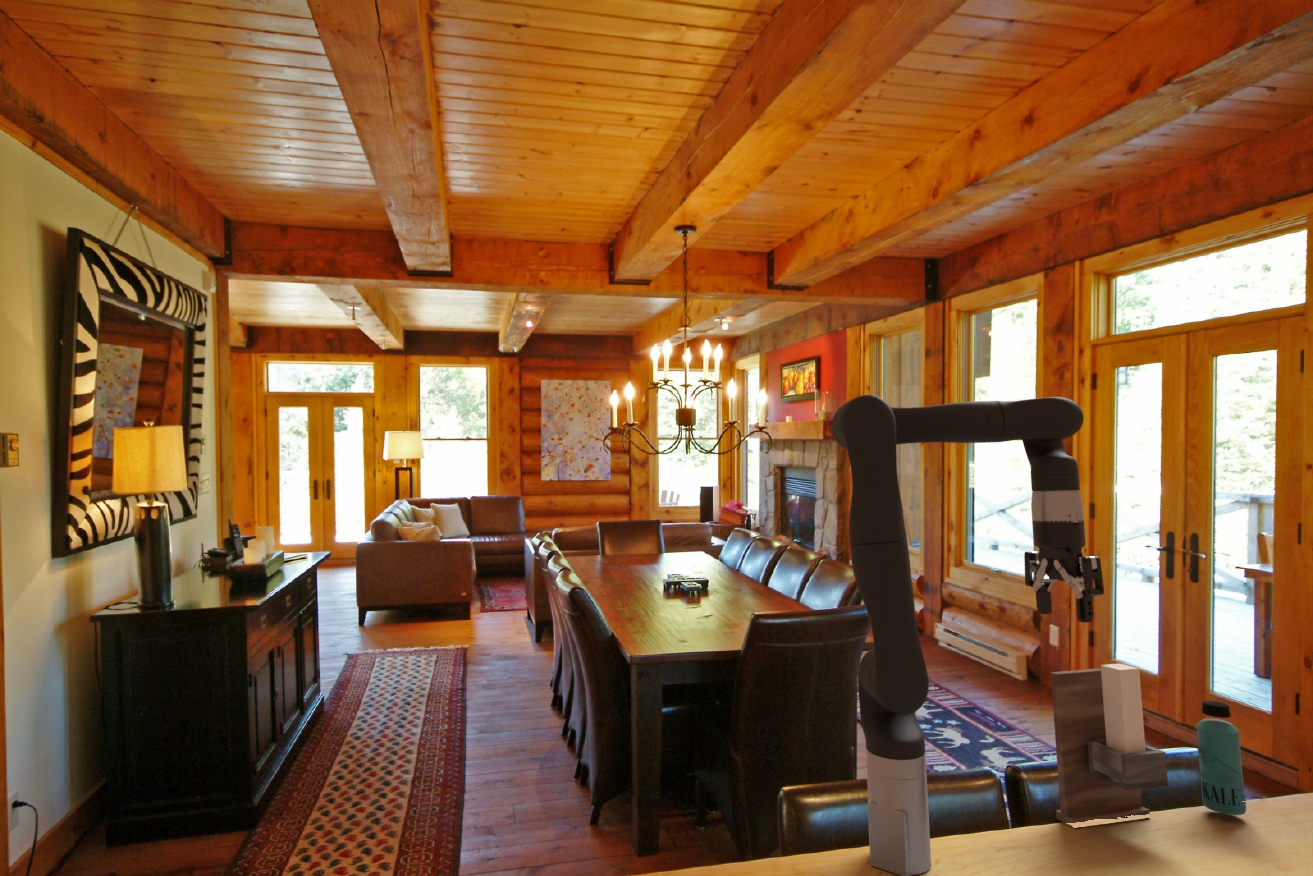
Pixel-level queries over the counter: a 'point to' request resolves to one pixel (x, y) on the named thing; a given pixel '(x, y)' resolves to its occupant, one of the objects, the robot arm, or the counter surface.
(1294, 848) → the counter surface
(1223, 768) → the beverage bottle
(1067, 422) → the robot arm
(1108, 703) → the beige tall block
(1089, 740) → the cup bracket
